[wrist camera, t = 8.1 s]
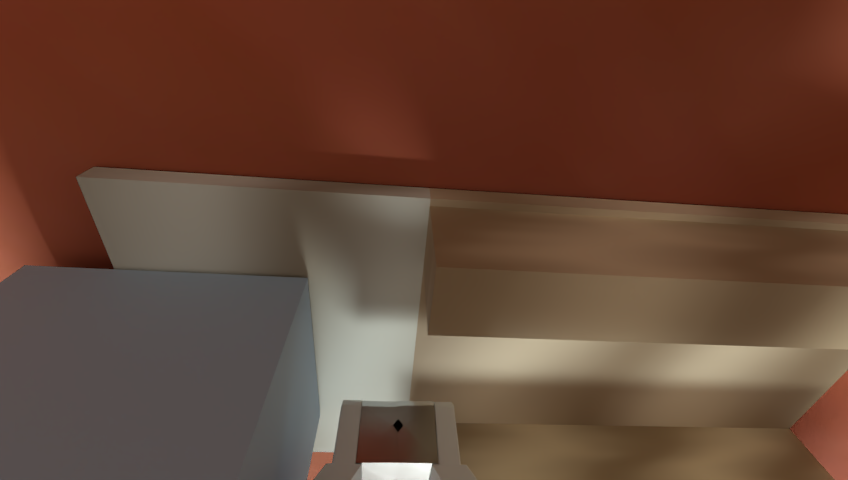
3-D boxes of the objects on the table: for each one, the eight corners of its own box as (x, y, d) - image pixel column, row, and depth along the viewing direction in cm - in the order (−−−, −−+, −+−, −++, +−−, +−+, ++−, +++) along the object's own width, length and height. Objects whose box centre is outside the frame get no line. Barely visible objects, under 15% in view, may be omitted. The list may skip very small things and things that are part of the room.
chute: (957, 221, 11) (1128, 292, 8) (750, 442, 17) (814, 525, 14) (93, 166, 9) (-31, 235, 7) (197, 434, 15) (152, 528, 12)
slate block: (307, 278, 10) (213, 550, 5) (320, 415, 14) (268, 667, 8) (24, 265, 10) (-385, 555, 5) (107, 410, 13) (-85, 677, 8)
